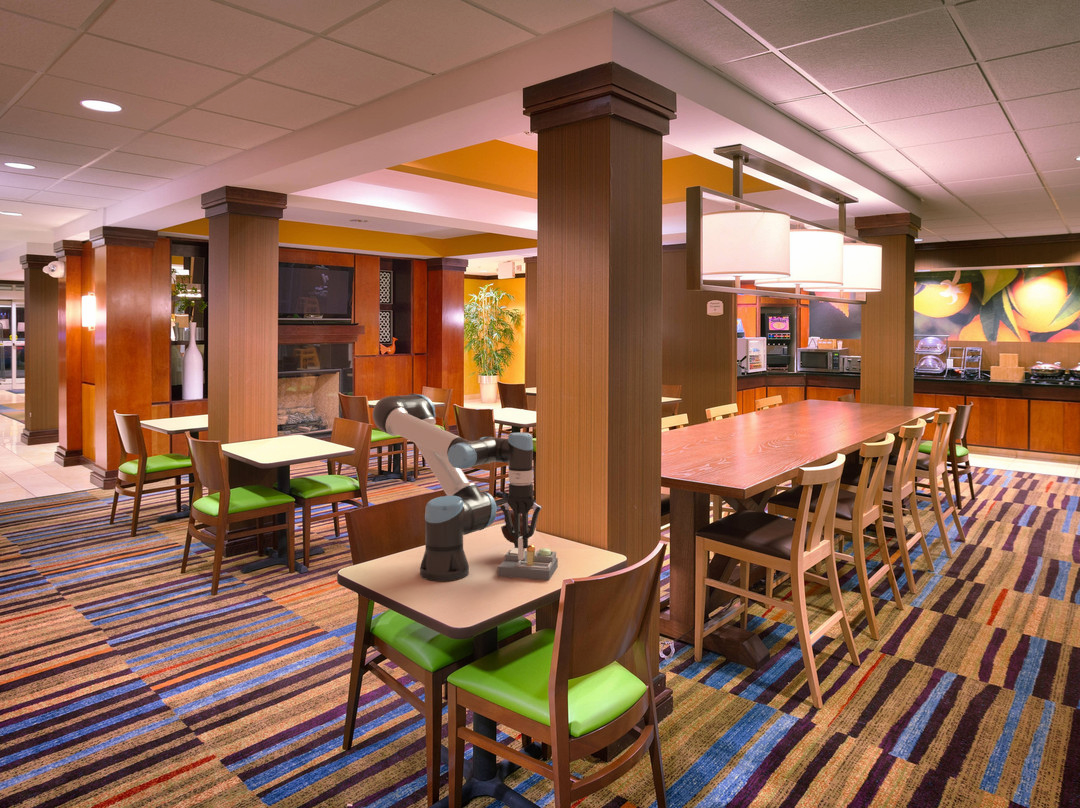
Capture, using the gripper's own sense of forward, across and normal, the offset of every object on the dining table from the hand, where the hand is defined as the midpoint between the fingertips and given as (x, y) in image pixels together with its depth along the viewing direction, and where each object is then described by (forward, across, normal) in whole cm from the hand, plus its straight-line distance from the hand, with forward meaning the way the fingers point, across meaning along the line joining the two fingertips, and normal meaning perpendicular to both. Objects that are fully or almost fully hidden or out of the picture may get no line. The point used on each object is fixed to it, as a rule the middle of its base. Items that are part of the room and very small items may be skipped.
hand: (521, 558), depth 214 cm
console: (+5, +1, +3) cm, 6 cm away
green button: (+2, +6, +7) cm, 9 cm away
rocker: (+1, -3, +7) cm, 7 cm away
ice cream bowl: (+5, -7, +19) cm, 21 cm away
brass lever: (+2, +3, 0) cm, 3 cm away
